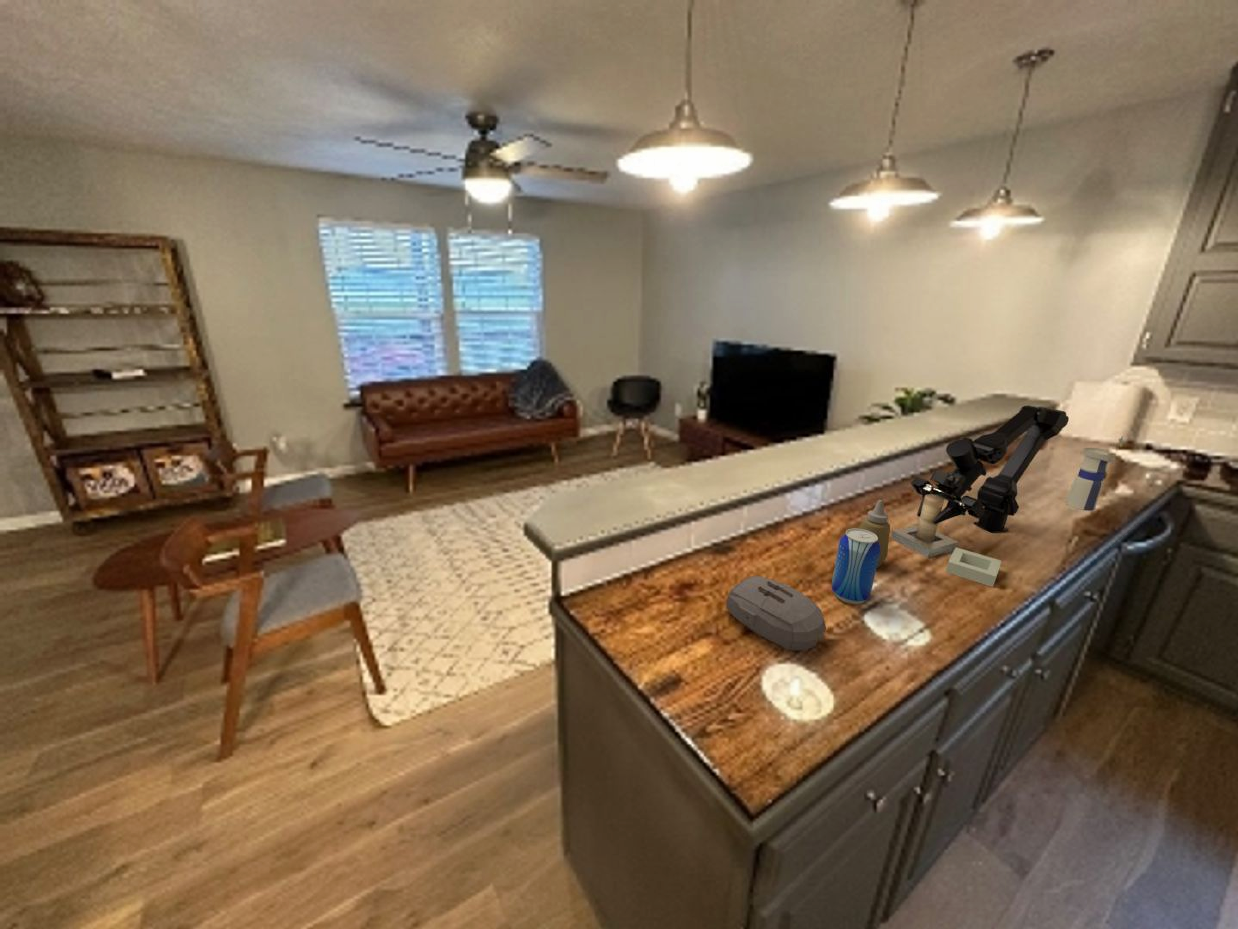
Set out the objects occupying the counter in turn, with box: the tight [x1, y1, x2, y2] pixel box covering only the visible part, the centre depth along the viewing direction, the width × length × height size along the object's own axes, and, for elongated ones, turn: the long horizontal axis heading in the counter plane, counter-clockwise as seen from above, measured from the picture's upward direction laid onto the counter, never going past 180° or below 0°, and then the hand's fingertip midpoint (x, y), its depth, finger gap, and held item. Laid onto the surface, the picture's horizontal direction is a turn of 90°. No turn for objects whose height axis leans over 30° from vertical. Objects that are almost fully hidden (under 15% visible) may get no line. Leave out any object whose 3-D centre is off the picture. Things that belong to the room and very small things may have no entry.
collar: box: [945, 547, 1002, 588], centre depth 126 cm, size 10×10×3 cm
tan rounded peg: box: [915, 494, 945, 544], centre depth 137 cm, size 4×4×13 cm
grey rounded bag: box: [725, 575, 827, 652], centre depth 105 cm, size 15×8×20 cm
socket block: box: [890, 524, 959, 559], centre depth 140 cm, size 12×12×2 cm
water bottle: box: [1064, 436, 1125, 512], centre depth 162 cm, size 8×9×25 cm
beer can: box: [830, 527, 881, 605], centre depth 114 cm, size 8×8×16 cm
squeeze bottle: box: [859, 499, 891, 569], centre depth 127 cm, size 8×8×18 cm
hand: (925, 519), depth 137 cm, fingers closed on tan rounded peg, 4 cm apart
